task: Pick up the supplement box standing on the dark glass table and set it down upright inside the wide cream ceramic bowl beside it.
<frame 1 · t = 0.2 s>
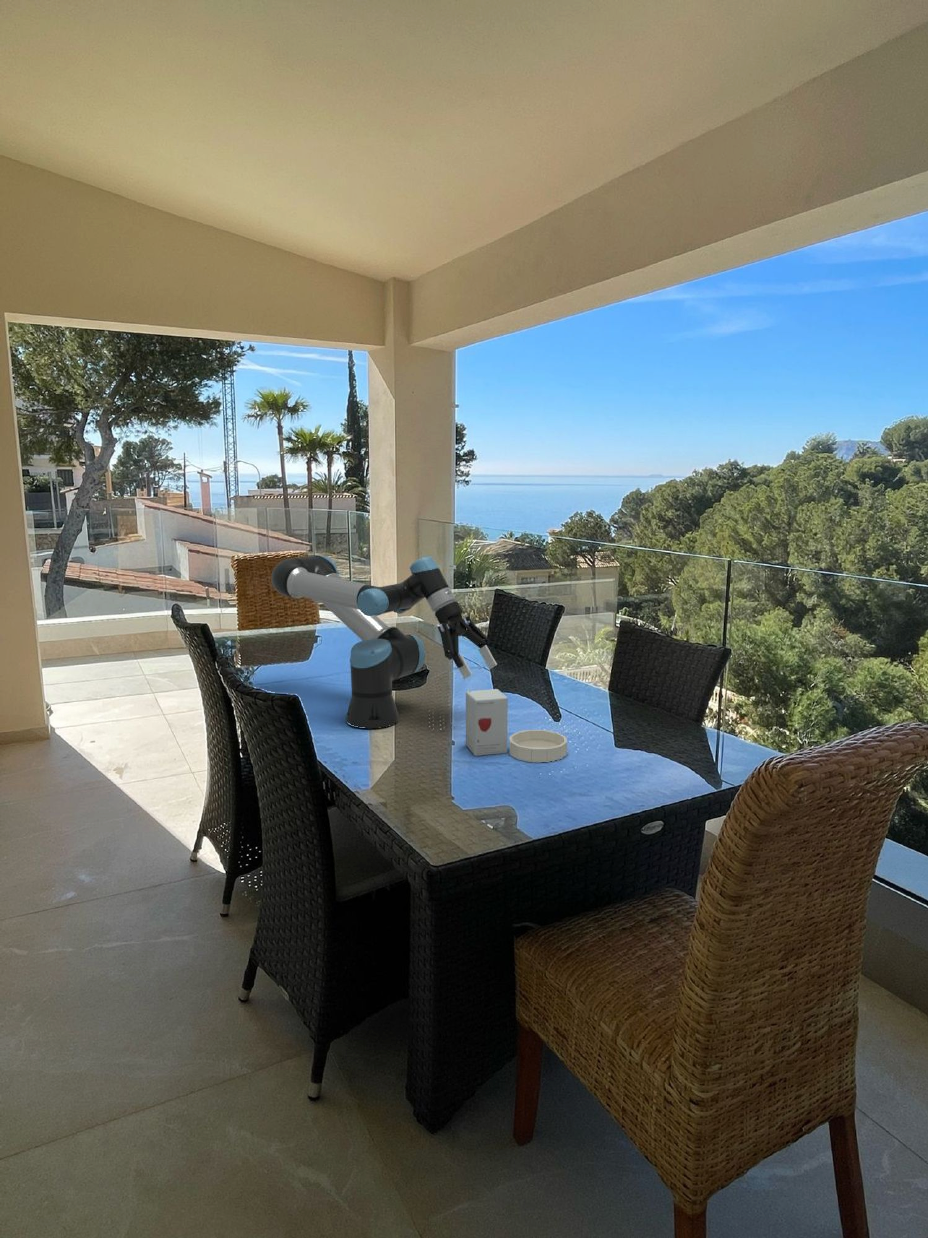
hand: (481, 672, 217), 16 cm above the table, tool tilted 35°, fingers open, 13 cm apart
supplement box: (486, 750, 201), on the table
bowl: (537, 752, 199), on the table
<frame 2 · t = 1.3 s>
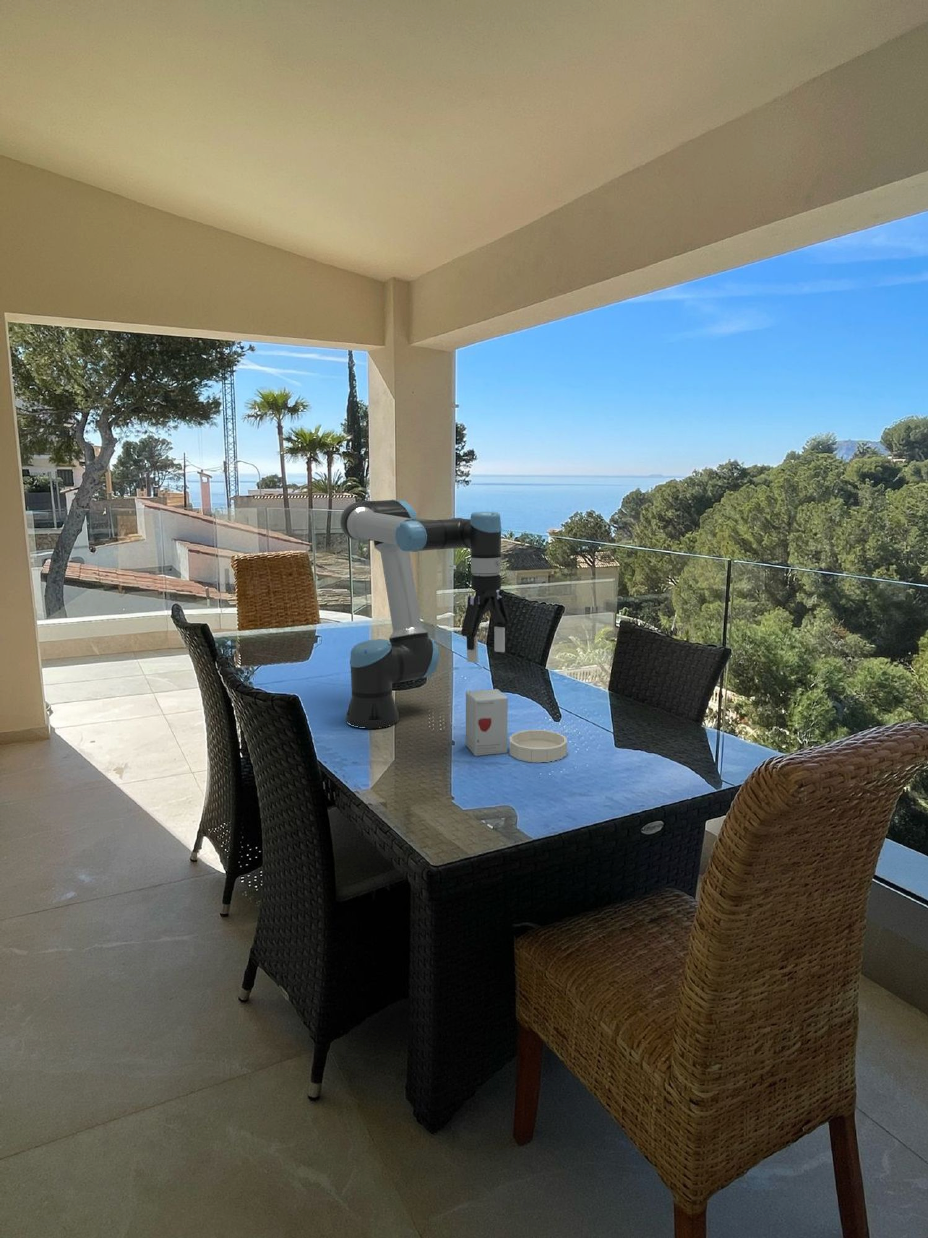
hand: (486, 656, 197), 25 cm above the table, tool pointing down, fingers open, 13 cm apart
nothing on the table moved.
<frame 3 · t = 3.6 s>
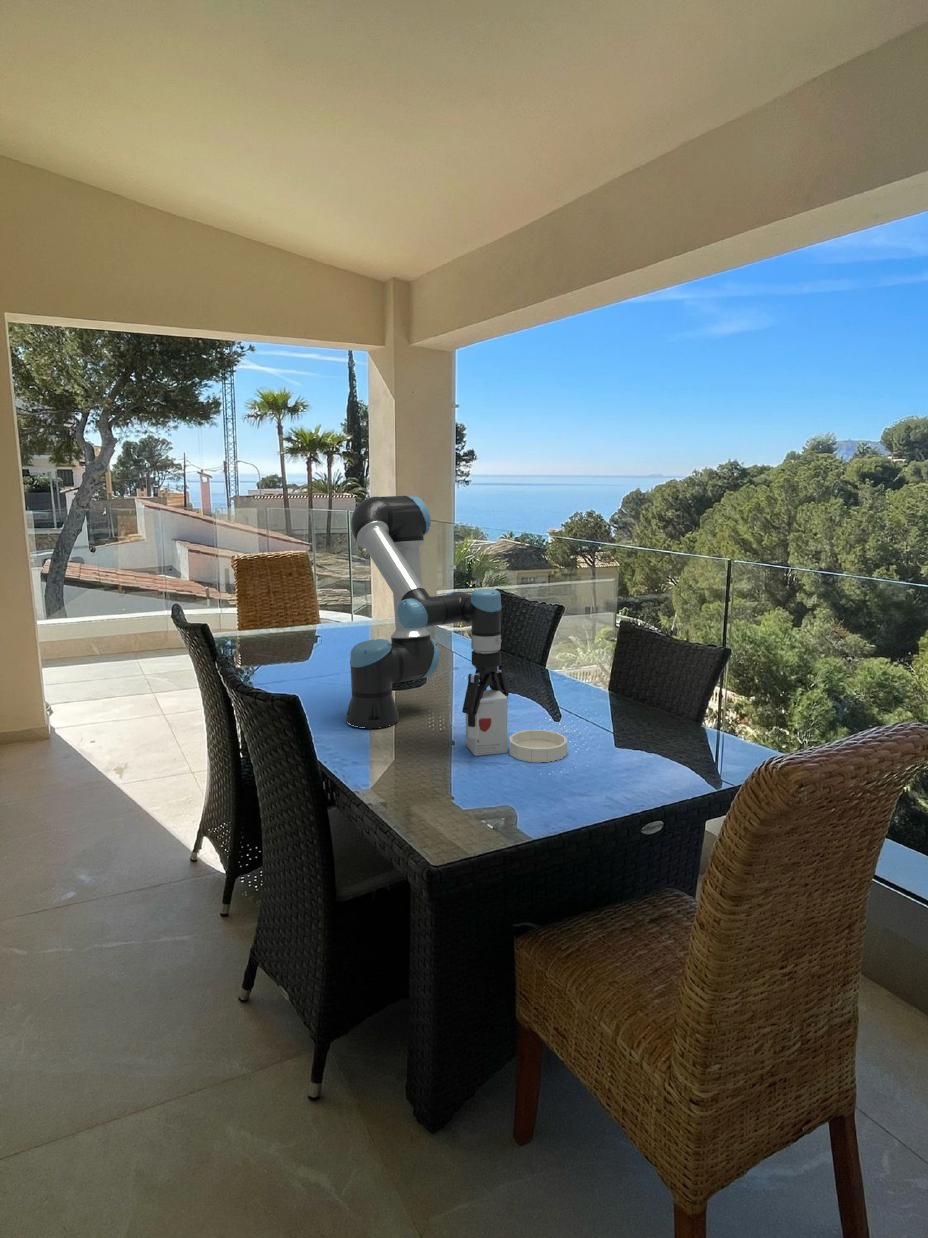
hand: (486, 731, 200), 5 cm above the table, tool pointing down, fingers closed on supplement box, 12 cm apart
supplement box: (486, 750, 201), on the table, touching gripper
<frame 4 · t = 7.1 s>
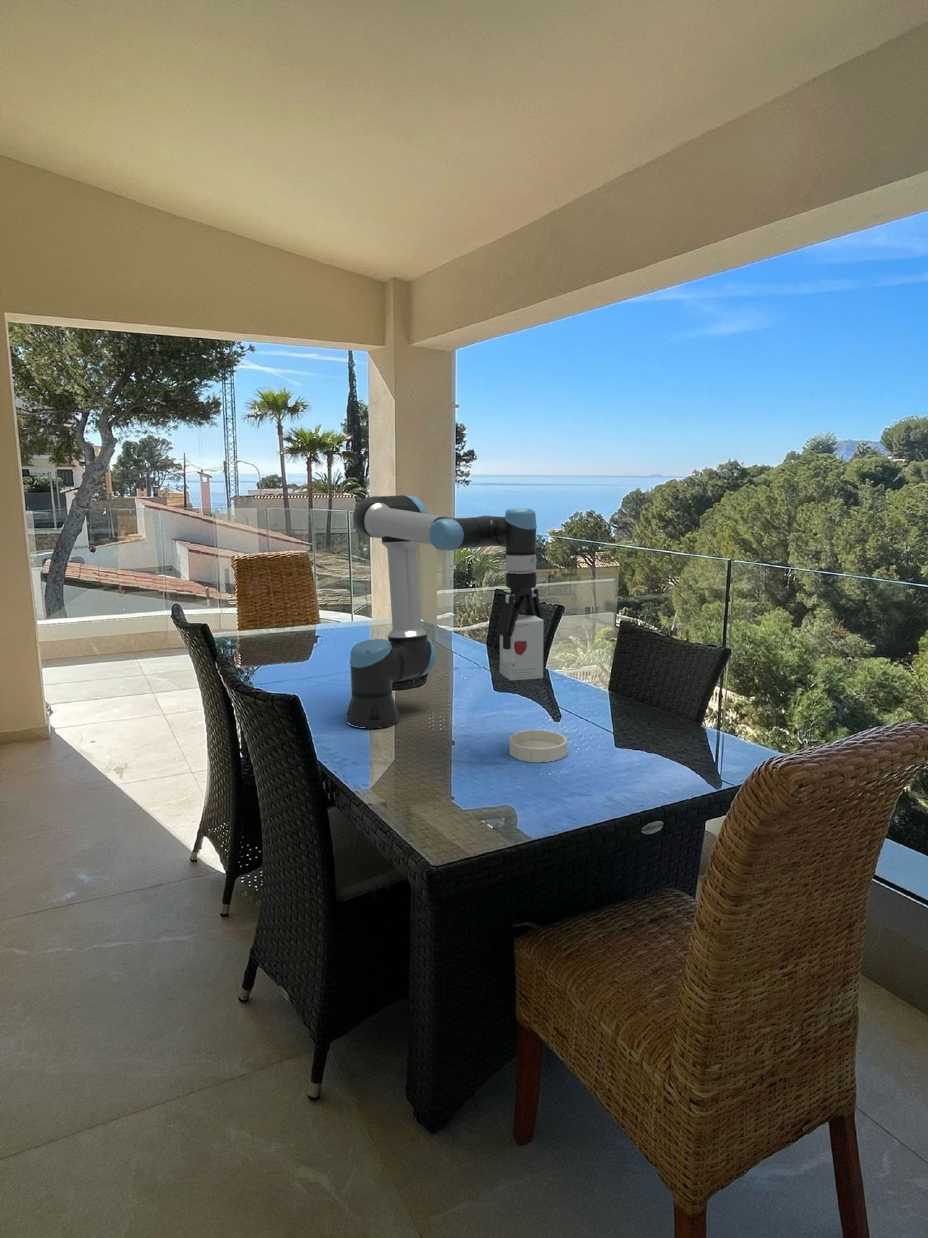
hand: (521, 656, 194), 25 cm above the table, tool pointing down, fingers closed on supplement box, 12 cm apart
supplement box: (521, 676, 195), point 20 cm above the table, touching gripper
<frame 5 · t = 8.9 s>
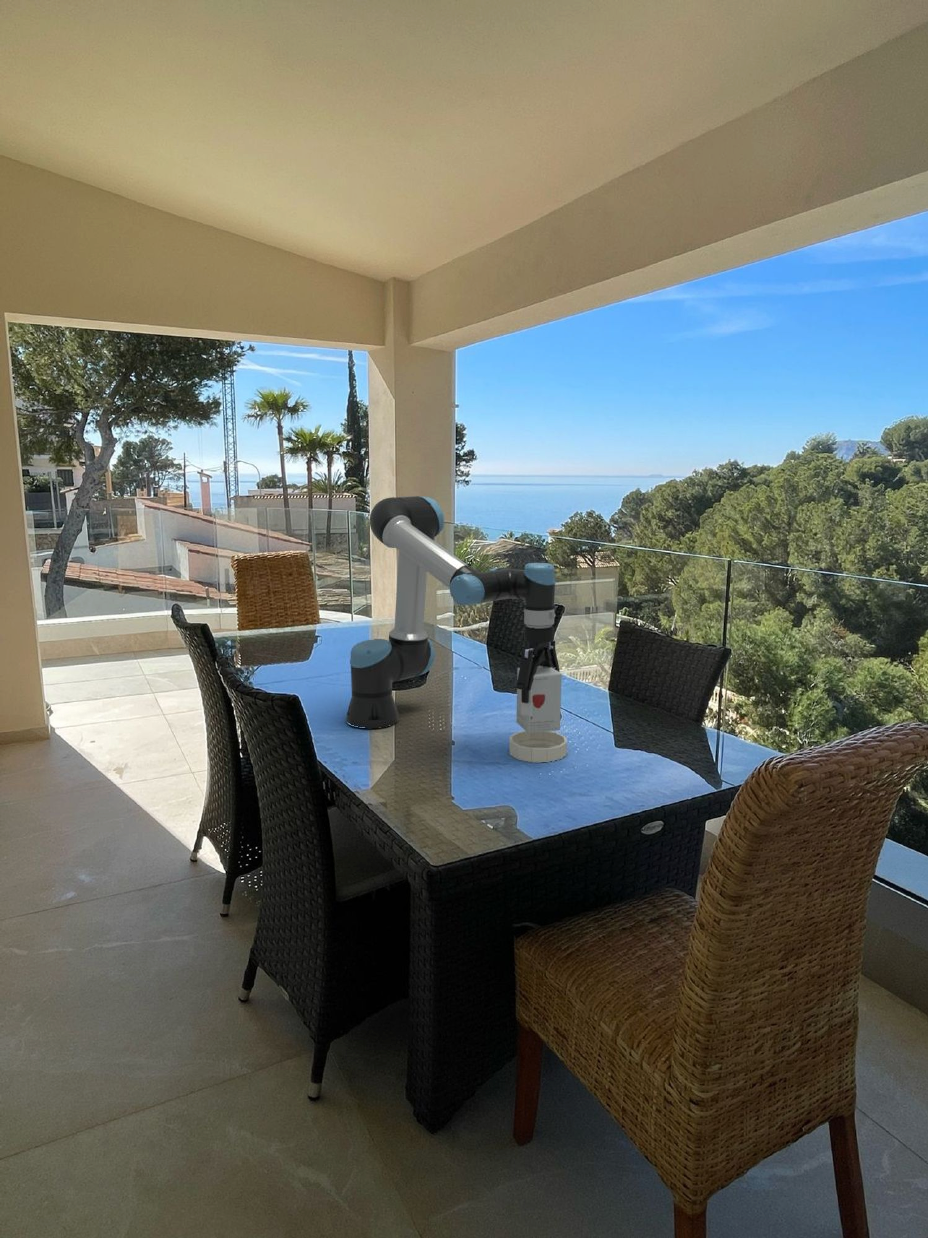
hand: (538, 708, 197), 12 cm above the table, tool pointing down, fingers closed on supplement box, 12 cm apart
supplement box: (538, 727, 197), point 7 cm above the table, touching gripper
when the fingers open (7 cm above the table, at t = 10.6 s): supplement box drops 1 cm, resting on bowl.
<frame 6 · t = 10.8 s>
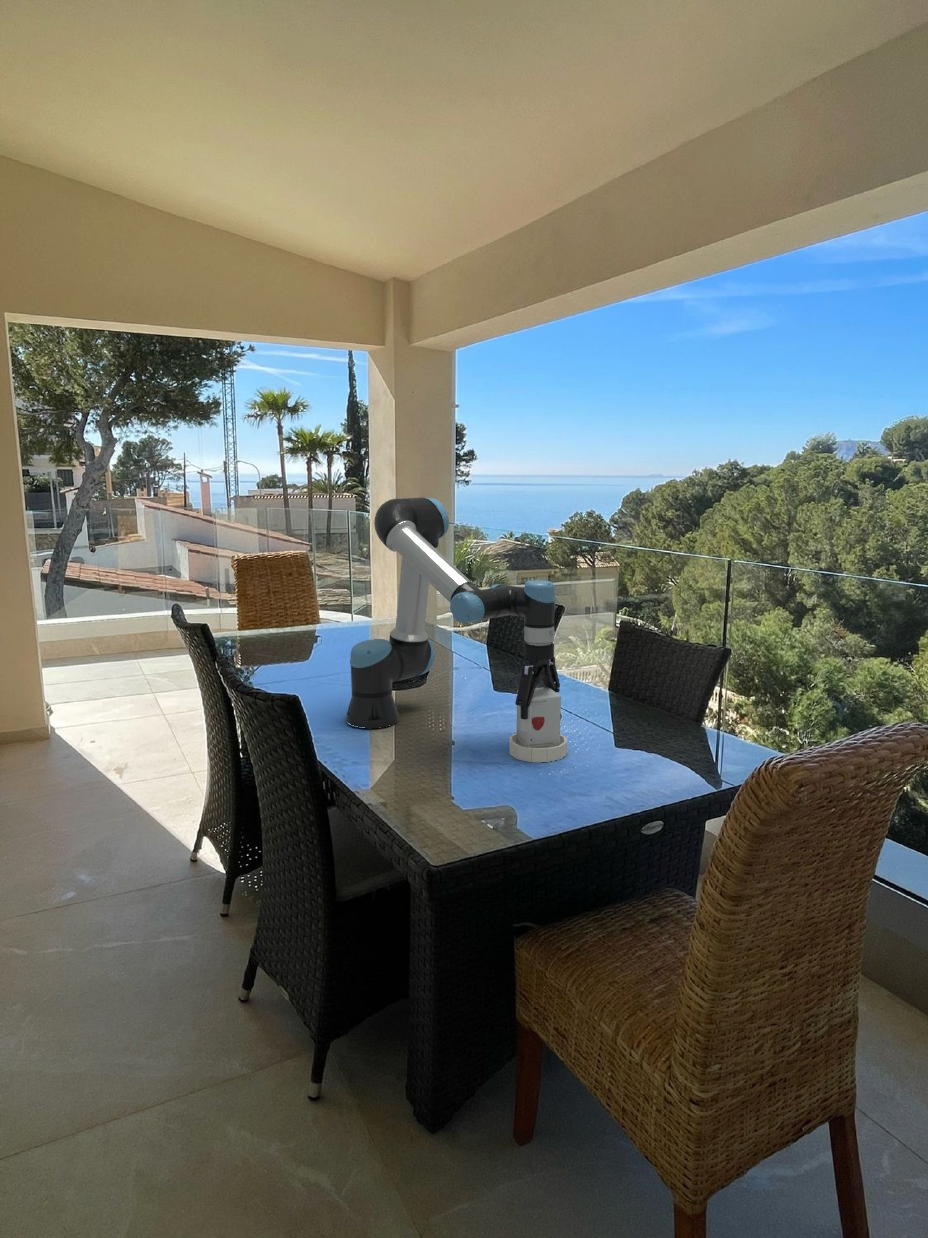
hand: (538, 723, 197), 8 cm above the table, tool pointing down, fingers open, 13 cm apart
supplement box: (537, 749, 199), point 1 cm above the table, touching bowl
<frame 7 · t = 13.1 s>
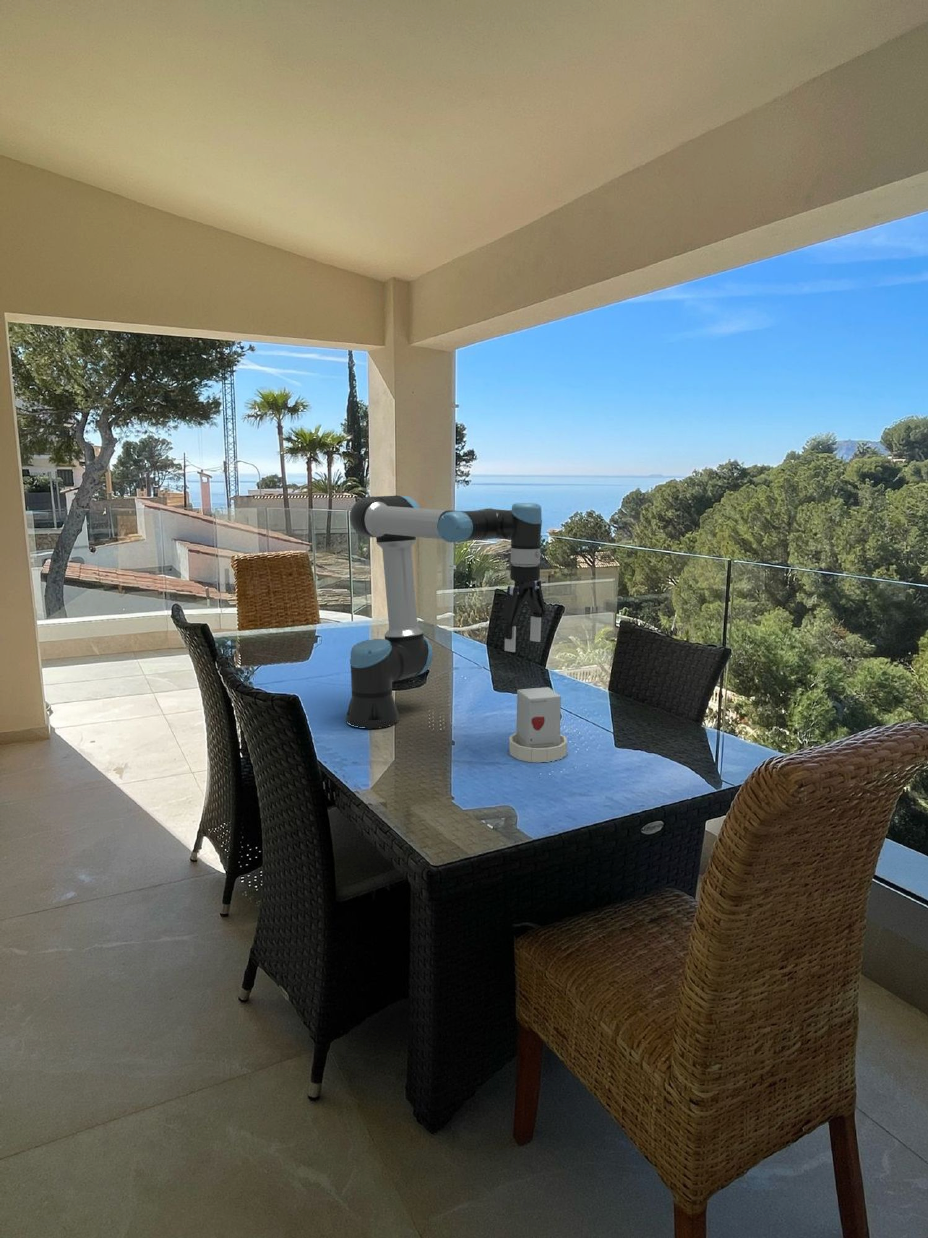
hand: (522, 646, 200), 27 cm above the table, tool pointing down, fingers open, 13 cm apart
nothing on the table moved.
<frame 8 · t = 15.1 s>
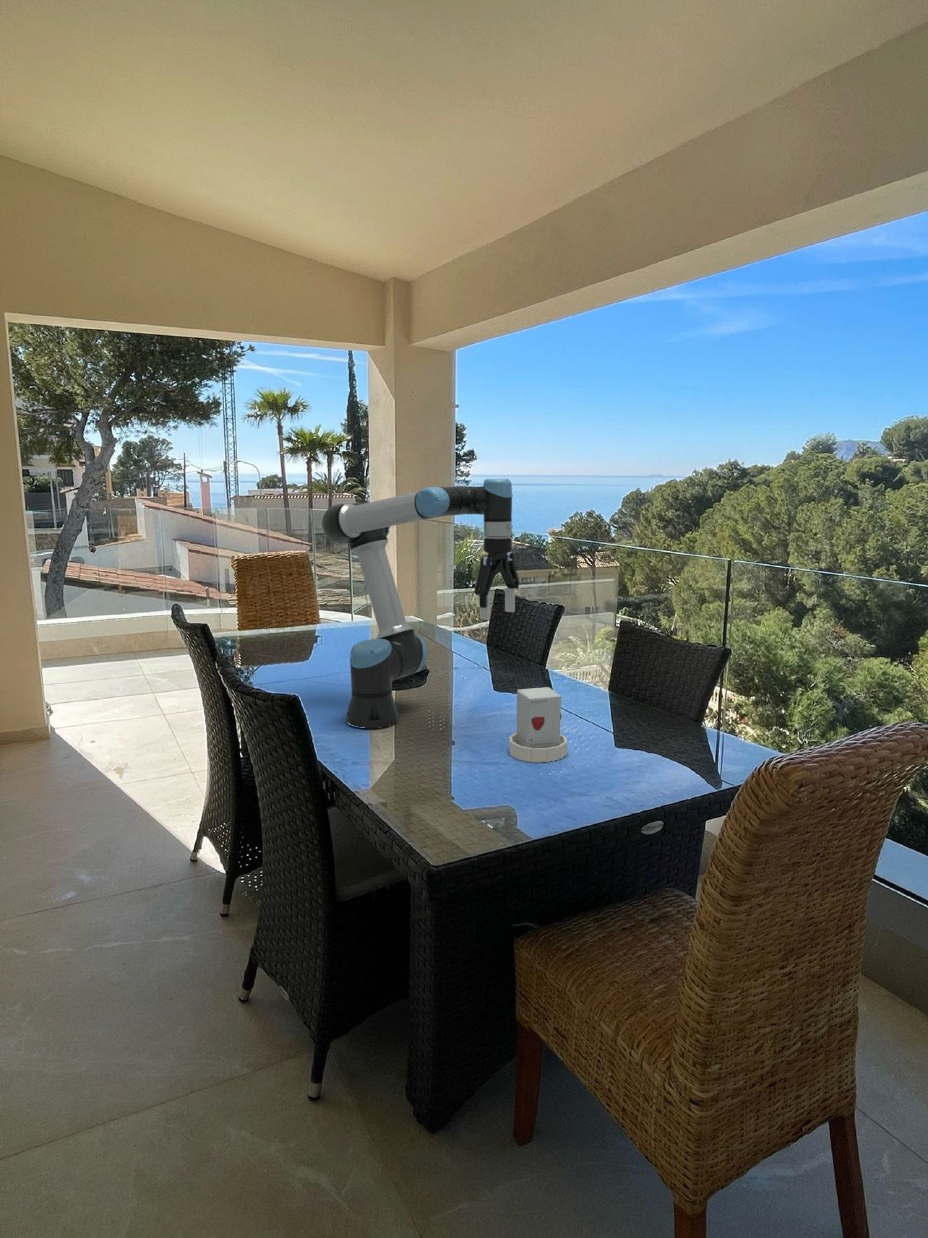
hand: (497, 615, 210), 33 cm above the table, tool pointing down, fingers open, 13 cm apart
nothing on the table moved.
at the end: supplement box 0.1 cm off-centre on the bowl, point 0.8 cm above the bowl's base; supplement box tilted 0°; the gripper is holding nothing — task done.
